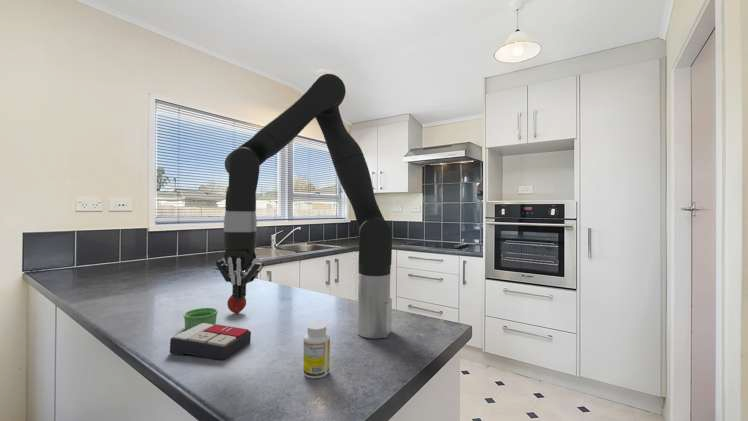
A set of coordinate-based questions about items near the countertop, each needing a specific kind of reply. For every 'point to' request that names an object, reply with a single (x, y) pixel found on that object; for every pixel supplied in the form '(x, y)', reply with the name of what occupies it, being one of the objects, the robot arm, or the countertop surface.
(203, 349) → the calculator
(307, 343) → the supplement bottle
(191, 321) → the ramekin
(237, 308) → the onion
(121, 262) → the countertop surface
